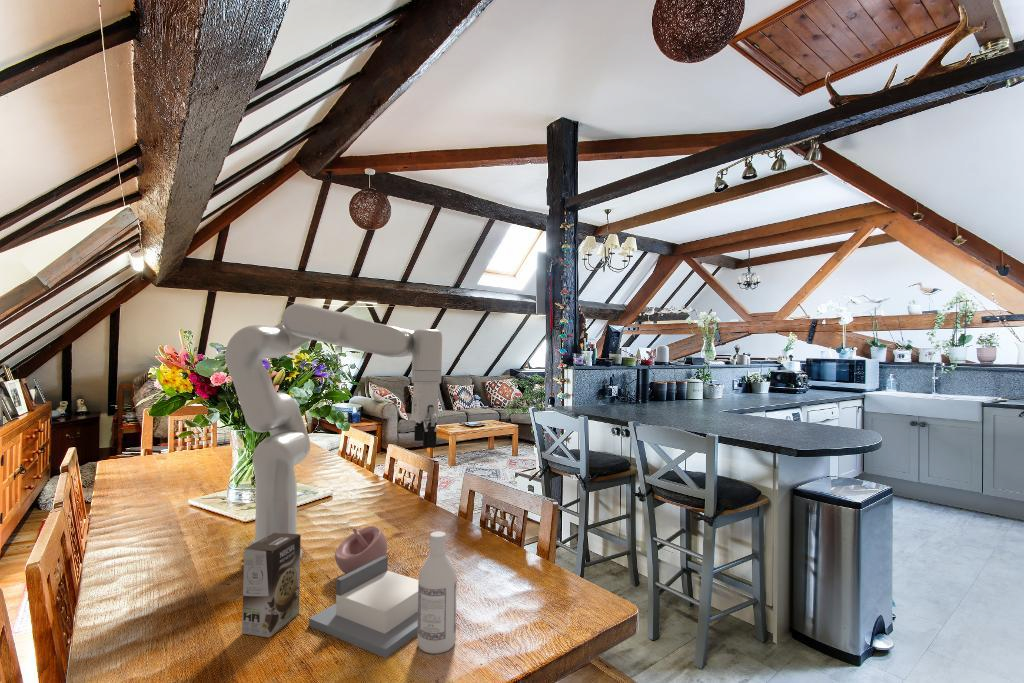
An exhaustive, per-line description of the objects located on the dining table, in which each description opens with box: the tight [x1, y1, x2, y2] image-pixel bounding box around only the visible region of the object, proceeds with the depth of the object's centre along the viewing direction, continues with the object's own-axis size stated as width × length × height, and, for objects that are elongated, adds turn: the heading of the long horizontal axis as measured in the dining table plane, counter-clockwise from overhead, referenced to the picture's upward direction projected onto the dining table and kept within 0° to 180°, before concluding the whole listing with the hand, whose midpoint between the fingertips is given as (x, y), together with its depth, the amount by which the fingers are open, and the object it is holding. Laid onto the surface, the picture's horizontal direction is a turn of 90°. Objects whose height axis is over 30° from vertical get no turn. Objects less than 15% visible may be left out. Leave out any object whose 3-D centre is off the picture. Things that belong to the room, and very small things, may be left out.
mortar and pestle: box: [334, 525, 388, 575], centre depth 119 cm, size 12×12×11 cm
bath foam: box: [417, 530, 458, 655], centre depth 92 cm, size 7×7×20 cm
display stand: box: [308, 555, 419, 659], centre depth 101 cm, size 20×20×8 cm
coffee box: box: [241, 533, 302, 638], centre depth 98 cm, size 9×6×16 cm
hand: (424, 444), depth 128 cm, fingers open, 9 cm apart
